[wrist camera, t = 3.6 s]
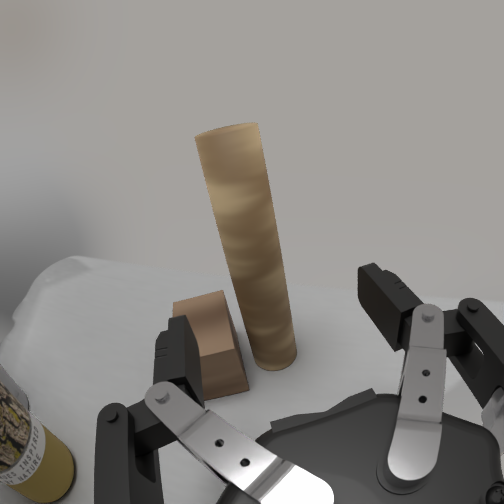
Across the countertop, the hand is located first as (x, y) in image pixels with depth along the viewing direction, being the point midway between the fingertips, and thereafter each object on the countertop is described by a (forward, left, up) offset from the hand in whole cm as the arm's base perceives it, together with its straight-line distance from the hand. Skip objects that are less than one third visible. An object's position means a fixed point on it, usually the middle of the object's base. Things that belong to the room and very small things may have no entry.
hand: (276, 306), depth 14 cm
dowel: (0, +7, -11) cm, 13 cm away
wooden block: (-5, +8, -11) cm, 14 cm away
